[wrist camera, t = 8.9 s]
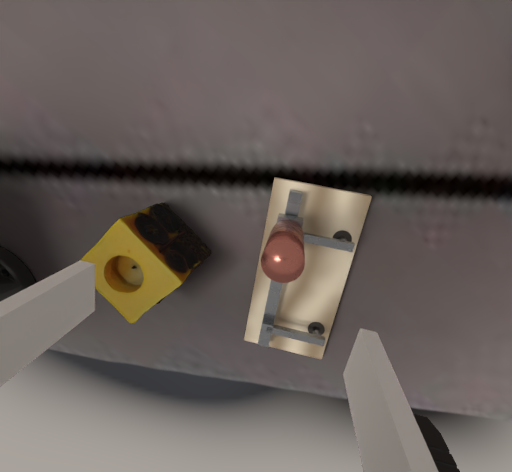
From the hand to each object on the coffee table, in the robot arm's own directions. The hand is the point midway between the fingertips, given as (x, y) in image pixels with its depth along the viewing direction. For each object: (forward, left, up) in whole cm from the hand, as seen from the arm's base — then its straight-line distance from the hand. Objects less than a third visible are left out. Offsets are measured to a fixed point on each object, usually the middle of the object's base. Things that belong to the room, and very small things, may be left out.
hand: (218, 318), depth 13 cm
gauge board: (+6, -8, -25) cm, 27 cm away
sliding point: (+6, -2, -23) cm, 24 cm away
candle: (-14, -9, -25) cm, 30 cm away
